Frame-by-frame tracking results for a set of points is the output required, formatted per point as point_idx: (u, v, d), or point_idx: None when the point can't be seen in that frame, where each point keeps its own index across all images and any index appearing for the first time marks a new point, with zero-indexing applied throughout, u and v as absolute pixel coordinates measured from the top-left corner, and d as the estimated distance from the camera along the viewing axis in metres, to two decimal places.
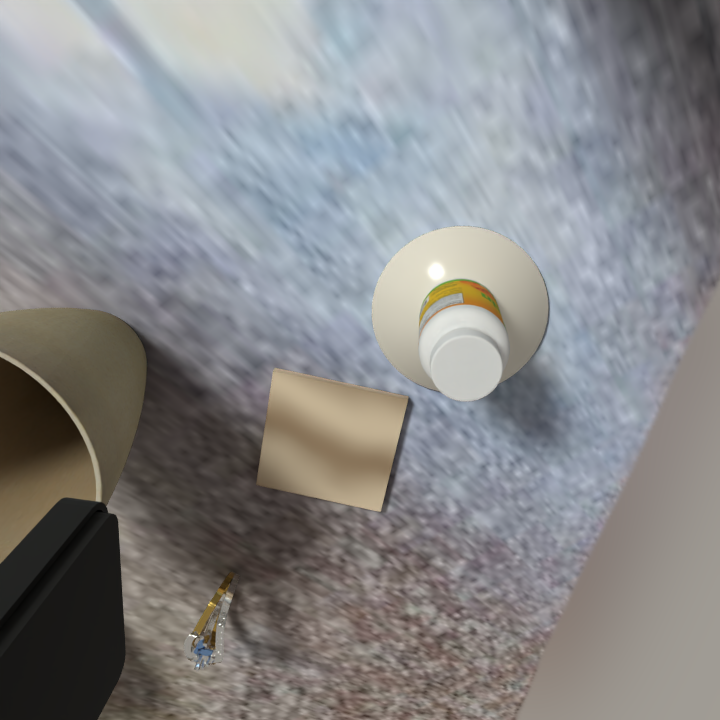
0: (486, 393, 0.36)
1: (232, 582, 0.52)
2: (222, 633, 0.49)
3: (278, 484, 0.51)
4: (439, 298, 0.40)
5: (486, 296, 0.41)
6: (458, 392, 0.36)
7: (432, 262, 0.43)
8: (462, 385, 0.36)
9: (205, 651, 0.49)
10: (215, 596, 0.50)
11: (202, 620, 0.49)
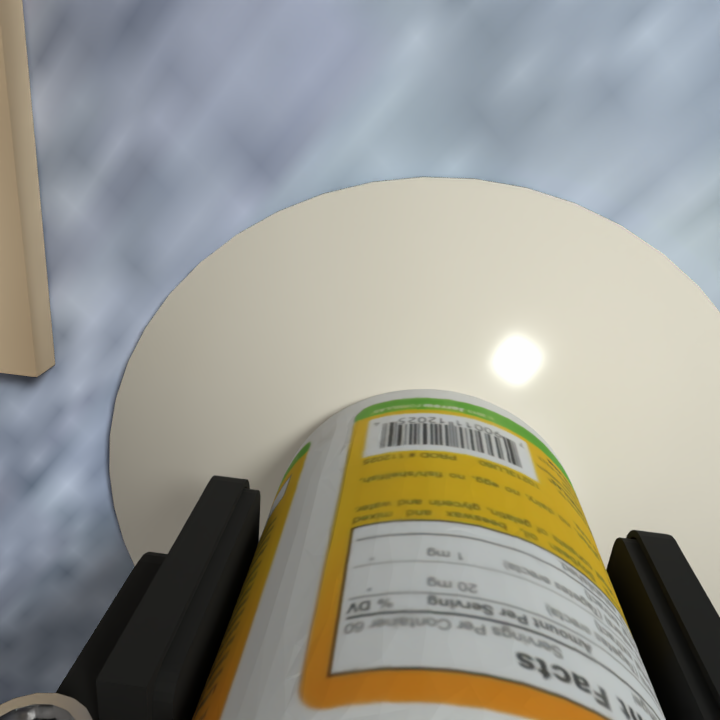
0: None
1: None
2: None
3: None
4: (610, 598, 0.08)
5: None
6: None
7: (630, 408, 0.11)
8: None
9: None
10: None
11: None
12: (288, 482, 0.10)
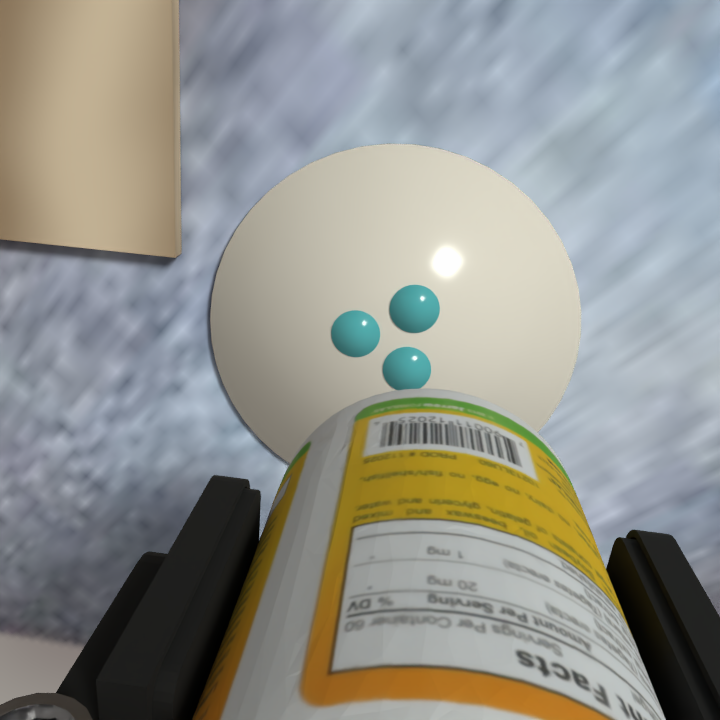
0: None
1: None
2: None
3: None
4: (609, 597, 0.08)
5: None
6: None
7: (502, 270, 0.20)
8: None
9: None
10: None
11: None
12: (288, 481, 0.10)
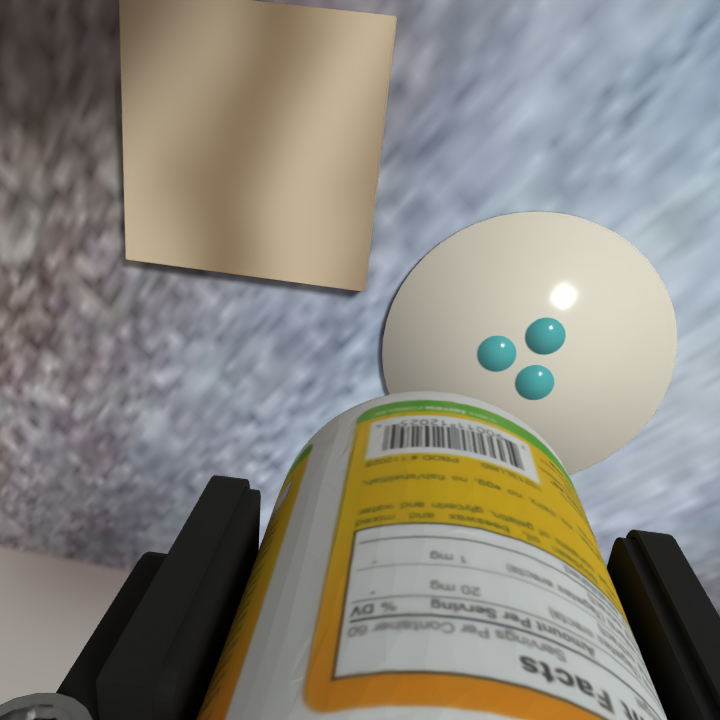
0: None
1: None
2: None
3: (132, 40, 0.24)
4: (612, 601, 0.08)
5: None
6: None
7: (617, 308, 0.26)
8: None
9: None
10: None
11: None
12: (290, 484, 0.10)
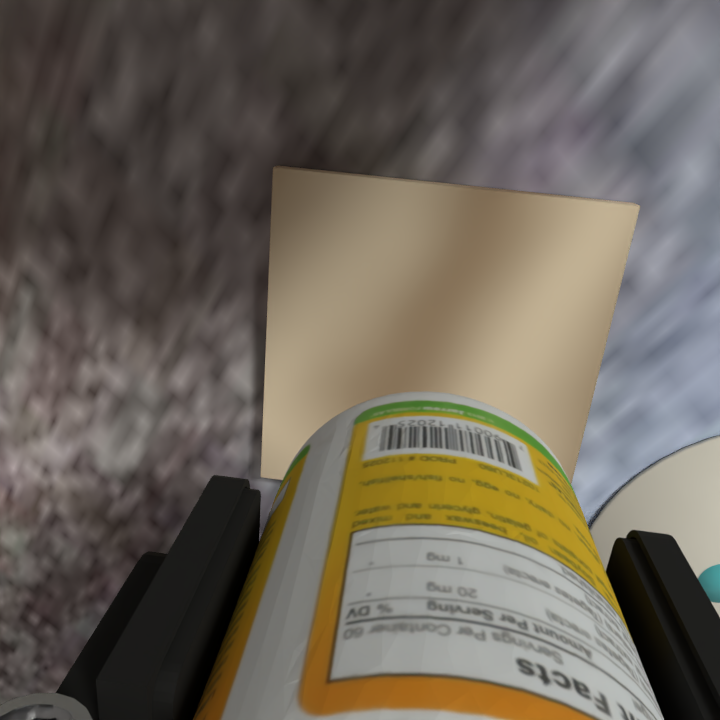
0: None
1: None
2: None
3: (287, 231, 0.19)
4: (610, 603, 0.08)
5: None
6: None
7: None
8: None
9: None
10: None
11: None
12: (287, 485, 0.10)
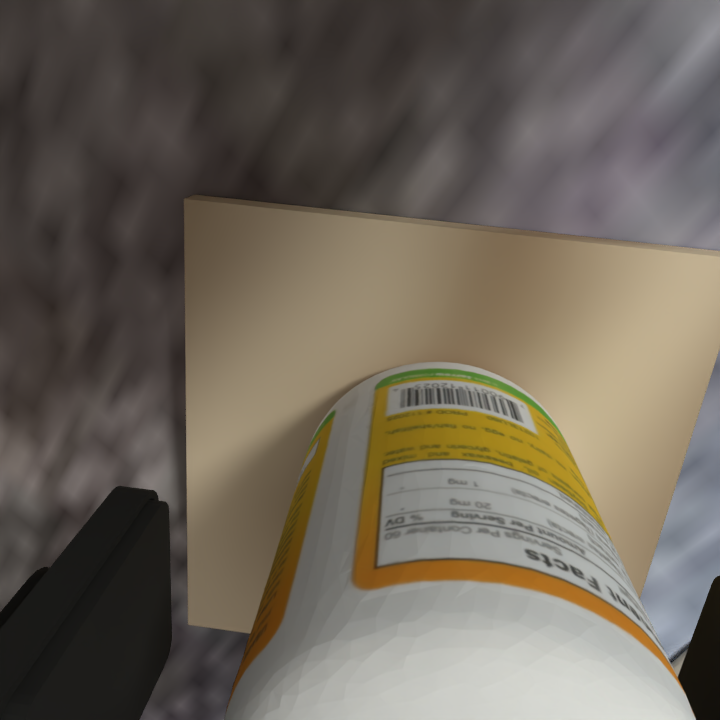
0: None
1: None
2: None
3: (209, 293, 0.12)
4: (601, 524, 0.09)
5: None
6: None
7: None
8: None
9: None
10: None
11: None
12: (318, 443, 0.11)
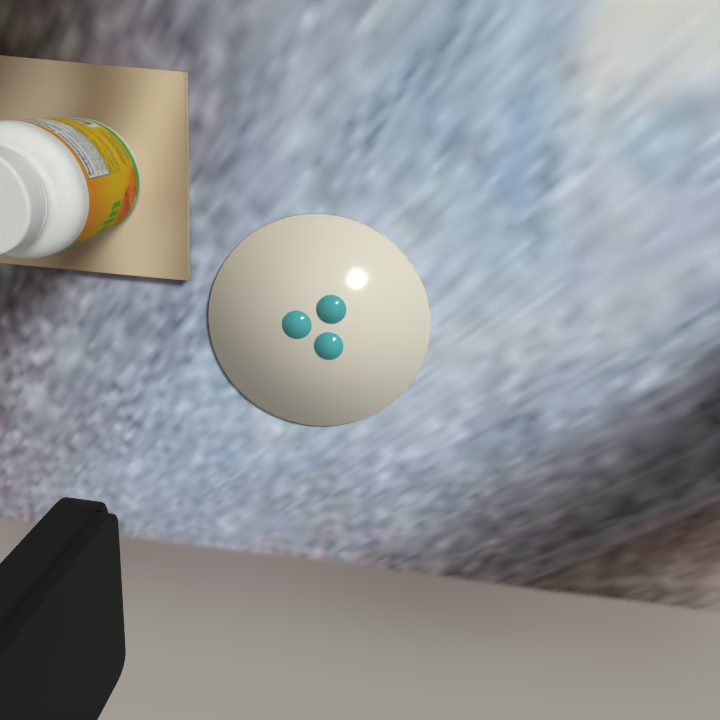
0: None
1: None
2: None
3: None
4: (92, 142, 0.28)
5: (116, 208, 0.29)
6: None
7: (381, 285, 0.34)
8: None
9: None
10: None
11: None
12: None
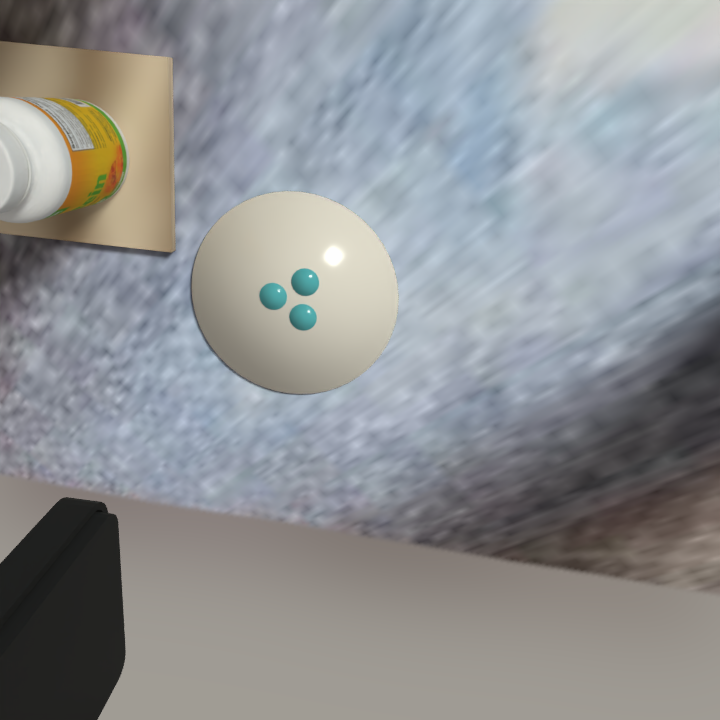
0: None
1: None
2: None
3: None
4: (79, 119, 0.30)
5: (102, 181, 0.32)
6: None
7: (351, 260, 0.36)
8: None
9: None
10: None
11: None
12: None
